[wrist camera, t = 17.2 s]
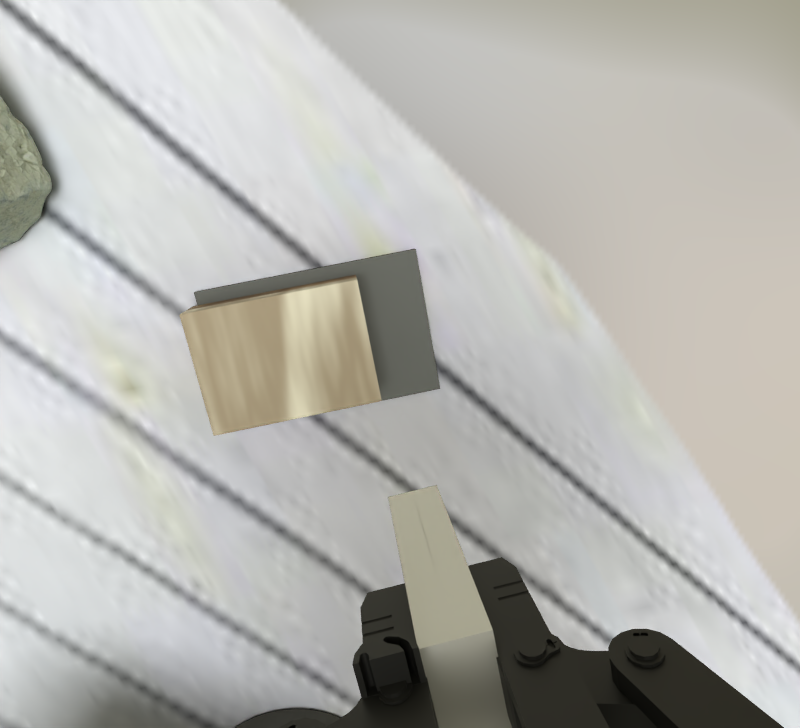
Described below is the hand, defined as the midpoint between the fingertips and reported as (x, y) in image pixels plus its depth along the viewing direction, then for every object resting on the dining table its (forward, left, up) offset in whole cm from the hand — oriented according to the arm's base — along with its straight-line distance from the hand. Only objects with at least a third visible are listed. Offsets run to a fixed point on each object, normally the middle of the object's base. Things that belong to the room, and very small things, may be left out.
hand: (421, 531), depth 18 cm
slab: (0, +2, -23) cm, 23 cm away
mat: (-3, +2, -25) cm, 25 cm away
